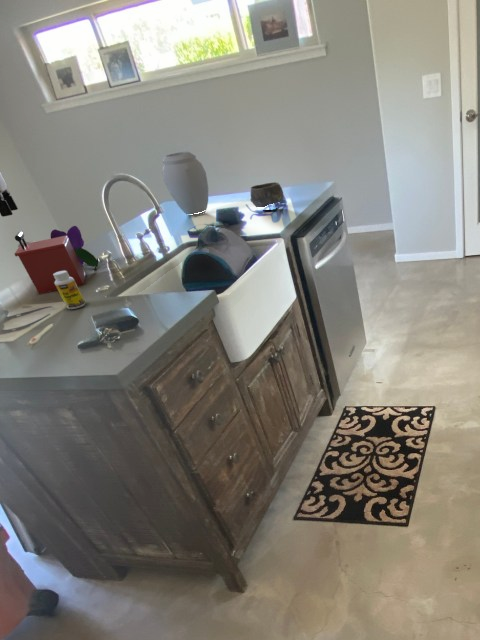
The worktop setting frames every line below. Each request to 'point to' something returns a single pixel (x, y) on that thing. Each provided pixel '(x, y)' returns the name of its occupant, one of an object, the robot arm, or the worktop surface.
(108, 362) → the worktop surface
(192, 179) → the vase
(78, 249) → the flower
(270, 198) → the bowl
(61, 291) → the supplement bottle
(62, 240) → the lid
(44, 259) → the red hollow box
